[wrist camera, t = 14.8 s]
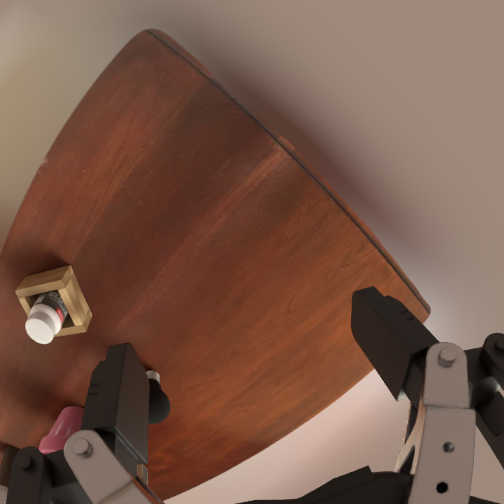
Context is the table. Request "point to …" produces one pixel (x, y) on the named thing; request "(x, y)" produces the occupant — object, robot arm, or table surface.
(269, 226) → the table surface
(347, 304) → the table surface
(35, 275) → the bottle socket
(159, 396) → the light bulb
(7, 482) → the pillar candle
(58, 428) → the flower pot
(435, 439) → the robot arm
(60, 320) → the pill bottle
